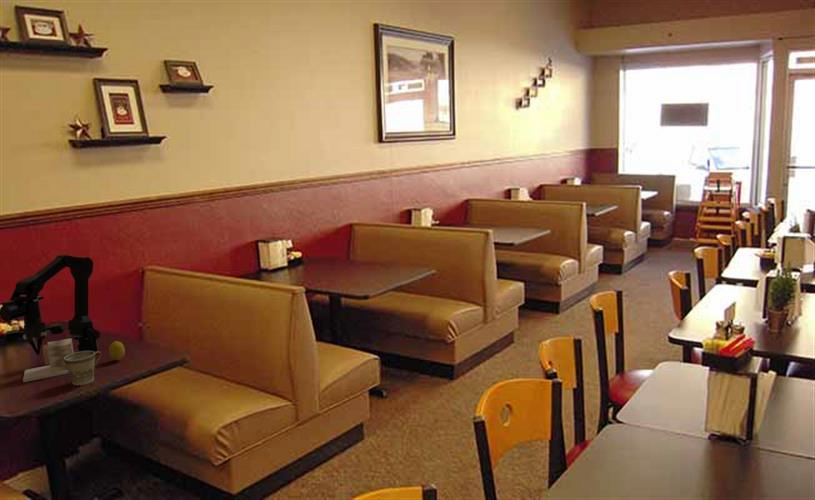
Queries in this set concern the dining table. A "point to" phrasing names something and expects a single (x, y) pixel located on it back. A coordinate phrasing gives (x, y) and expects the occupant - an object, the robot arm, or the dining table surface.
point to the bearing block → (59, 353)
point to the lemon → (116, 350)
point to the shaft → (46, 354)
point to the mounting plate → (41, 373)
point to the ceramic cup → (81, 366)
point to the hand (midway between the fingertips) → (38, 354)
